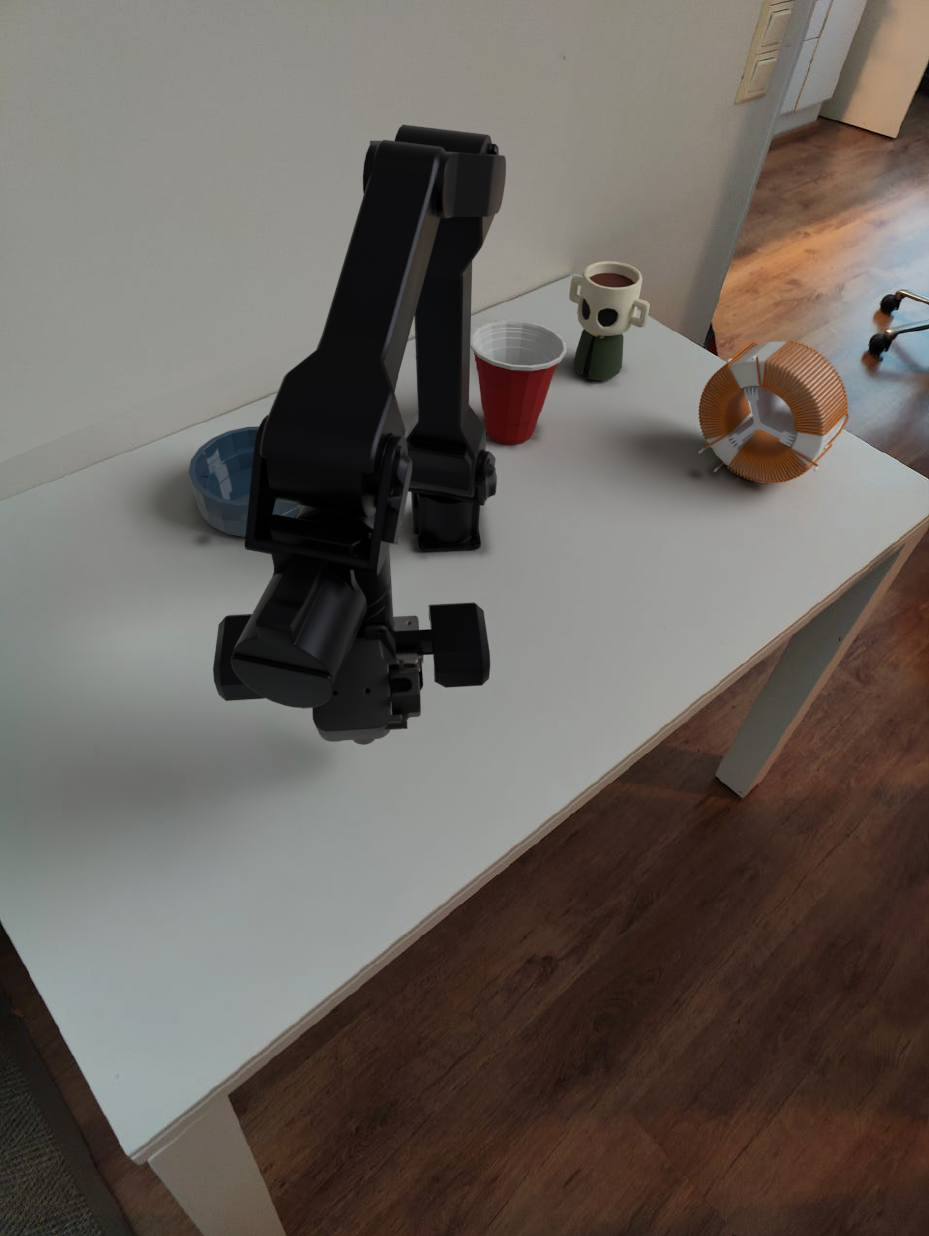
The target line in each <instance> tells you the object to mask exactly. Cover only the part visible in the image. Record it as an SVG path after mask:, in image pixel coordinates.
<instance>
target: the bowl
mask: <svg viewBox="0 0 929 1236" xmlns="http://www.w3.org/2000/svg"><path fill="white" fill-rule="evenodd" d="M259 426H260V425H259ZM259 426H256V425H255V426H245V427H240V428H236V429H231V430H228V431H227V430H226V431H225V432H223V433H221V434H219V435H216V436H214V437H212V438H210V439H209V440H208V441H207V442H205V443H203V445H201V446H199V448H198V449H197V451H196V452H195V453H194V454H193V456H192V458H190V463H189V468H188V476H189V479H190V483H191V486H192V490H193V494H194V497H195V501H196V504H197V507H198V510H199V513H200V516H201V517H202V518H203V520H205V522H207V523H208V525H210V526H211V527H212V528H214V529H216V530H218V531H220V532H222V533H225V534H227V535H231V536H233V535H234V536H236V537H237V536H238V537H243V538H245V535H246V525H247V515H248V506H249V496H250V486H251V476H252V466H253V456H254V447H255V440H256V435H257V432H258V429H259ZM302 506H303V505H298V504H292V503H287V502H281V501H279V500H277V499H276V502H275V506H274V510H273V514H276V515H282V516H287V517H293V518H295V516H296V515H297V513H298V512H299V511H300V509H301V508H302ZM273 514H272V515H273Z"/></svg>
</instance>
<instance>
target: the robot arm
mask: <svg viewBox="0 0 929 1236" xmlns="http://www.w3.org/2000/svg"><path fill="white" fill-rule="evenodd" d="M499 150H500V149H499V146H498V145H497V144H496V143H493V142H492V138H491V135H489V134H484V133H478V132H468V131H460V130H453V129H452V130H451V129H443V128H435V127H427V126H426V127H425V126H419V125H409V124H401V126H400V127H398V130H397V132H396V134H395V138H394V140H389V139H383V140H369V146H368V148H367V151H366V152H365V156H364V162H363V170H362V192H363V193H362V194H363V195H362V199H361V203H360V207H359V209H358V212H357V216H356V220H355V223H354V226H353V230H352V233H351V236H350V240H349V243H348V246H347V251H346V253H345V257H344V261H343V264H342V267H341V269H340V273H339V277H338V279H337V283H336V287H335V290H334V294H333V297H332V300H331V304H330V307H329V311H328V314H327V317H326V321H325V324H324V326H323V330H322V333H321V336H320V339H319V341H318V344H317V347H316V349H315V350H314V351H313V352H312V353H310V354H309V355H308V356H306V357H305V358H304V359H303V360H302V361H300V362H299V363H298V364H296V365H295V366H294V367H293V368H292V369H290V370H289V371H288V372H287V373H286V374H285V375H284V376H283V378H282V381H281V383H280V386H279V389H278V390H277V393H276V395H275V398H274V400H273V402H272V405H271V408H270V410H269V412H268V414H266V416H264V418H263V419H262V420H261V422H260V424H259V429H258V432H257V435H256V440H255V447H254V456H253V466H252V476H251V486H250V496H249V506H248V515H247V525H246V535H245V537H244V549H245V550H247V551H252V552H257V553H262V554H269V555H270V556H271V560H272V565H273V573H272V576H271V578H270V580H269V582H268V584H267V586H266V588H265V589H264V591H263V593H262V595H261V597H260V598H259V600H258V602H257V604H256V606H255V608H254V610H253V612H252V613H243V614H242V613H241V614H240V613H239V614H228V615H226V616H224V618H223V619H222V620H221V621H220V622H219V624H218V627H217V633H216V634H217V635H216V641H215V642H216V644H215V651H214V657H213V666H212V671H213V672H212V675H213V683H214V686H215V689H216V691H217V695H218V696H219V697H220V698H221V699H223V700H224V701H225V702H231V701H249V700H251V701H252V700H264V699H267V700H268V701H271V702H273V703H276V704H279V705H282V706H284V707H288V708H289V707H290V708H296V709H312V721H313V723H314V725H315V728H316V730H317V732H318V734H319V736H320V737H321V738H322V740H325V741H327V742H332V743H335V742H343V741H353V740H358V739H375V740H380V739H383V738H385V737H386V736H387V735H389V733H390V732H391V731H392V730H395V731H396V730H408V719H410V718H419V717H420V716H421V714H422V707H421V706H422V704H421V703H422V702H421V691H422V689H423V687H424V673H423V664H424V656H431V655H432V658H433V680H434V683H437V684H438V685H440V686H441V687H443V688H447V689H448V688H465V687H480V686H484V684H486V682H488V680H490V672H491V653H490V645H489V637H488V632H487V625H486V617H485V611H484V610H483V608H482V607H480V606H479V605H478V604H477V603H476V602H474V601H473V602H454V603H438V604H436V603H435V604H428V621H429V625H430V626H429V628H426V629H425V628H424V629H420V621H419V617H418V615H400V616H394V604H393V587H392V586H393V585H392V569H391V568H392V567H391V553H390V551H391V550H390V546H391V544H393V545H399V542H400V537H401V533H402V527H403V522H404V521H403V520H404V515H405V510H406V505H407V500H408V494H409V493H410V496H411V497H410V498H411V499H410V501H411V502H410V505H411V526H412V534H413V535H414V536H416V538H417V547H418V551H420V552H422V553H423V552H443V551H445V552H446V551H464V550H465V551H466V550H479V549H480V548H481V547H482V540H481V535H480V513H481V506H483V507H484V506H485V505H486V502H487V500H488V499H489V498H491V497H494V496H496V493H497V484H498V475H497V472H496V471H497V467H496V460H497V458H496V457H495V455H494V454H493V453H492V452H491V451H488V450H486V445H487V443H486V441H487V440H486V434H487V431H486V429H485V423H483V422H482V420H481V419H480V418H479V416H478V415H477V413H476V412H475V410H473V408H472V407H471V405H470V376H471V375H470V374H471V368H470V367H471V346H470V338H471V333H472V330H471V329H472V294H473V293H472V290H473V289H472V288H473V260H474V259H475V258H476V256H477V255H478V253H479V252H480V251H481V249H482V247H483V245H484V243H485V240H486V238H487V236H488V233H489V231H490V229H491V226H492V223H493V222H494V221H493V220H494V219H495V216H496V214H499V213H500V210H501V207H502V203H503V199H504V194H505V186H506V178H507V177H506V176H507V159H506V156H505V155H503V154H502V155H501V154H500V152H499ZM413 322H414V342H415V343H414V344H415V345H414V346H415V369H416V370H415V371H416V396H417V397H416V398H417V411H416V412H415V413H414V415H413V417H412V420H411V422H410V425H409V427H408V429H407V431H406V428H405V424H404V420H403V417H402V413H401V410H400V406H399V403H398V400H397V396H396V393H395V392H396V388H397V383H398V378H399V374H400V370H401V367H402V363H403V359H404V355H405V353H406V348H407V345H408V341H409V337H410V333H411V329H412V326H413ZM276 499H277V500H279V501H281V502H287V503H292V504H298V505H303V506H302V508H301V509H300V511H299V512H298V513H297V515H296V516H295V518H293V517H287V516H282V515H276V514H273V510H274V506H275V502H276ZM272 514H273V515H272Z"/></svg>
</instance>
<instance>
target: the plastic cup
mask: <svg viewBox="0 0 929 1236" xmlns="http://www.w3.org/2000/svg"><path fill="white" fill-rule="evenodd" d="M567 347H568V346H567V343H566V340H565V339H564V338H563V337H562V336H561V335H559V333H558V332H556V331H555V330H552V329H551V328H549V327H547V326H544V325H542V324H538V323H534V322H530V321H527V320H517V319H501V320H494V321H488V322H486V323H483V324H481V325H479V326H476V327H475V328H474V329H473V331H471V338H470V350H472V353H473V355H474V362H475V365H476V371H477V378H478V386H479V394H480V403H481V410H482V412H483V421H484V426H485V431H486V434H487V435H488V437H489V438H490V439H491V440H493V441H495V442H496V443H499V444H503V445H513V446H514V445H519V444H523V443H525V442H527V441H528V440H530V439H531V437H532V436H533V434H534V432H535V430H536V427H537V425H538V421H539V418H540V414H541V413H542V411H543V408H544V404H545V401H546V398H547V395H548V392H549V390H550V389H549V388H550V386H551V383H552V380H553V377H554V375H555V373H556V371H557V368H558V366H559V364H560V363H561V362H562V360H563V358H565V355H566V353H567V351H568V348H567Z"/></svg>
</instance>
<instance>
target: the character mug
mask: <svg viewBox="0 0 929 1236" xmlns="http://www.w3.org/2000/svg"><path fill="white" fill-rule="evenodd" d="M642 285H643V275H642V273H641V272H640V270H638V268H636V267H634V266H632V265H630V264H628V263H625V262H620V261H612V260H611V261H610V260H604V261H596V262H594V263H591V264H589V265H587V266H586V268H585V269H584V270H583V273H582V276H579V275H573V276H572V277H571V280H570V286H569V294H568V298H569V300H570V301H571V302H572V303H575V304H577V310H576V314H577V321H578V323H579V325H580V326H581V327H582V330H581V332H580V333H581V334H580V337H579V341H578V344H577V346H576V350H575V353H574V358H573V361H572V364H573V369H574V371H576V373H578V375H580V376H583V374H584V369H585V370H586V371H587V372H588V374H587V375H588V376H587V379H590V380H595V381H596V380H597V381H605V380H611V379H613V378H614V377H616V376H617V375H618V374H619V373H620V372H621V370H622V368H623V359H624V338H625V337H624V334H625V333H626V332H628V331H629V330H630V329H631V328H632V326H635V327H637V328H645V327H646V325H647V322H648V319H649V318H648V317H649V314H650V313H649V312H650V309H651V308H650V307H651V306H650V302H648V300H647V301H646V300H644V299H641V298H640V294H641V290H642ZM579 286H580V290H579V294H578V289H579ZM637 309H640V313H639V314H640V315H639V317H637V316H636V314H637Z"/></svg>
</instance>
